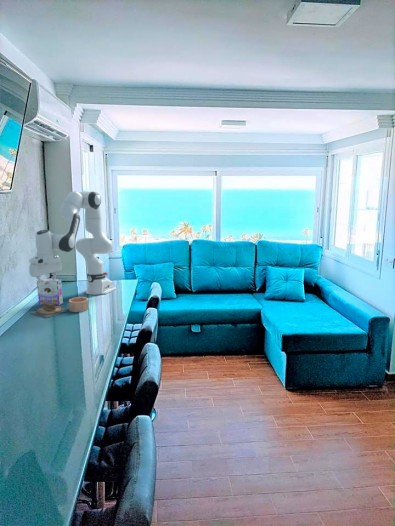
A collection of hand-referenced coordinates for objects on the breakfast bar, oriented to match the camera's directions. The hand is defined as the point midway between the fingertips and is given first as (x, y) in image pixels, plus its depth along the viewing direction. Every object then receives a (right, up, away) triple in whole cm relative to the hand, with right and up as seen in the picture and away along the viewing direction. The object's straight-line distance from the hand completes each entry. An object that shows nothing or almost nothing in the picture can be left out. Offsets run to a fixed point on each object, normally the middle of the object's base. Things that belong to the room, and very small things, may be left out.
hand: (47, 281), depth 217 cm
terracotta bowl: (+16, -18, +9) cm, 26 cm away
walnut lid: (0, -18, +3) cm, 19 cm away
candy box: (-5, -16, +19) cm, 25 cm away
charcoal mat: (0, -19, +4) cm, 19 cm away
